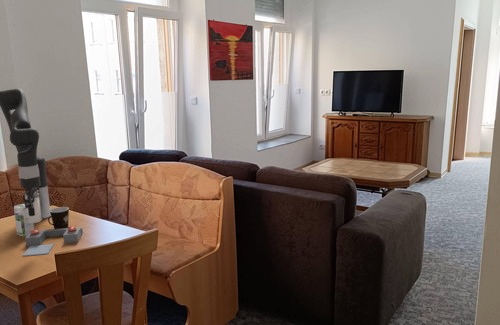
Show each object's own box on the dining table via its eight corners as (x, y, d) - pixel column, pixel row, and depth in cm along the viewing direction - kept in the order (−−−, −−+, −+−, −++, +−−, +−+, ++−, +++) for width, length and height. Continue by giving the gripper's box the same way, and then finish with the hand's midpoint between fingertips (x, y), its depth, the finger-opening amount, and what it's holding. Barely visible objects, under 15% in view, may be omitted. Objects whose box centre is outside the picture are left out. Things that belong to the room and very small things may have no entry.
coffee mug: (65, 224, 204) (63, 205, 202) (73, 227, 199) (71, 209, 197) (42, 230, 195) (40, 211, 193) (50, 234, 190) (48, 215, 188)
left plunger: (32, 238, 183) (31, 229, 182) (41, 237, 183) (40, 228, 182) (30, 241, 179) (29, 232, 178) (38, 240, 180) (37, 231, 179)
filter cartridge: (30, 219, 172) (27, 193, 169) (43, 218, 173) (40, 192, 171) (26, 223, 167) (22, 196, 164) (40, 222, 168) (36, 195, 165)
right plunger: (69, 235, 186) (68, 226, 185) (77, 234, 186) (76, 226, 186) (67, 238, 182) (66, 229, 181) (75, 237, 183) (75, 228, 182)
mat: (30, 246, 176) (30, 245, 176) (54, 244, 179) (54, 243, 178) (22, 256, 167) (22, 255, 167) (47, 254, 169) (47, 253, 169)
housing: (34, 236, 188) (33, 228, 187) (82, 232, 192) (82, 225, 192) (26, 246, 177) (25, 237, 176) (77, 241, 181) (77, 233, 181)
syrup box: (16, 234, 190) (12, 206, 187) (28, 230, 195) (24, 203, 192) (23, 237, 187) (20, 208, 184) (35, 232, 193) (31, 204, 190)
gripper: (25, 172, 172) (30, 209, 175) (13, 180, 158) (18, 220, 162) (44, 171, 173) (48, 207, 177) (33, 179, 160) (38, 218, 163)
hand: (34, 213), depth 169 cm, fingers closed on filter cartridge, 5 cm apart
